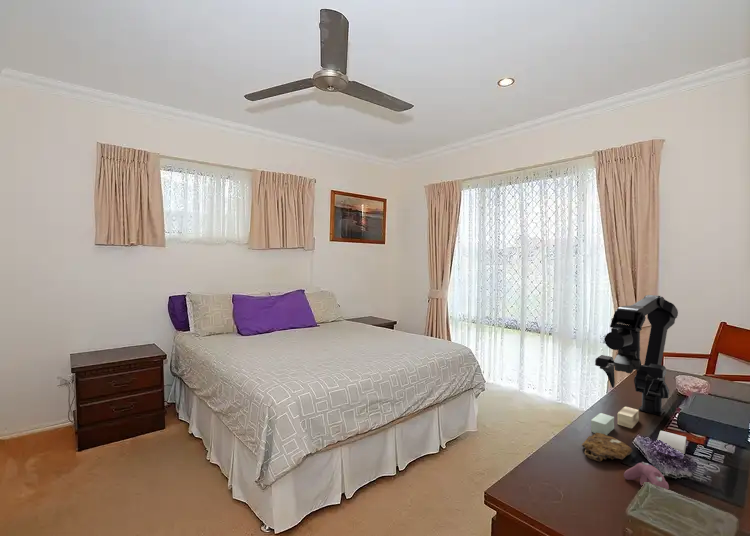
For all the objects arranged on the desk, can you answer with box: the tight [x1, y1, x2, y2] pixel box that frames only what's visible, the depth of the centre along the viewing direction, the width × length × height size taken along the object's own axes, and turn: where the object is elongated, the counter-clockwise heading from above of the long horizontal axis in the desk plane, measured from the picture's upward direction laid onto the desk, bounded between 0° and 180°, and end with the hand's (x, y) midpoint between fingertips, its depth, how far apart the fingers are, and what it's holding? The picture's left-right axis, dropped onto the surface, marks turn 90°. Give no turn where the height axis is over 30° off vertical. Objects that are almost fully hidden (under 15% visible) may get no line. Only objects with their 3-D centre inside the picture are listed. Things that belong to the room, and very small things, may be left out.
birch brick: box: [616, 406, 640, 429], centre depth 121 cm, size 8×4×4 cm, turn 131°
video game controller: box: [623, 461, 670, 489], centre depth 86 cm, size 10×5×7 cm, turn 168°
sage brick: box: [590, 412, 615, 436], centre depth 116 cm, size 8×4×4 cm, turn 130°
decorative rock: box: [581, 433, 633, 462], centre depth 102 cm, size 11×4×15 cm
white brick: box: [656, 430, 687, 454], centre depth 104 cm, size 10×6×3 cm, turn 136°
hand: (629, 391), depth 120 cm, fingers open, 9 cm apart
